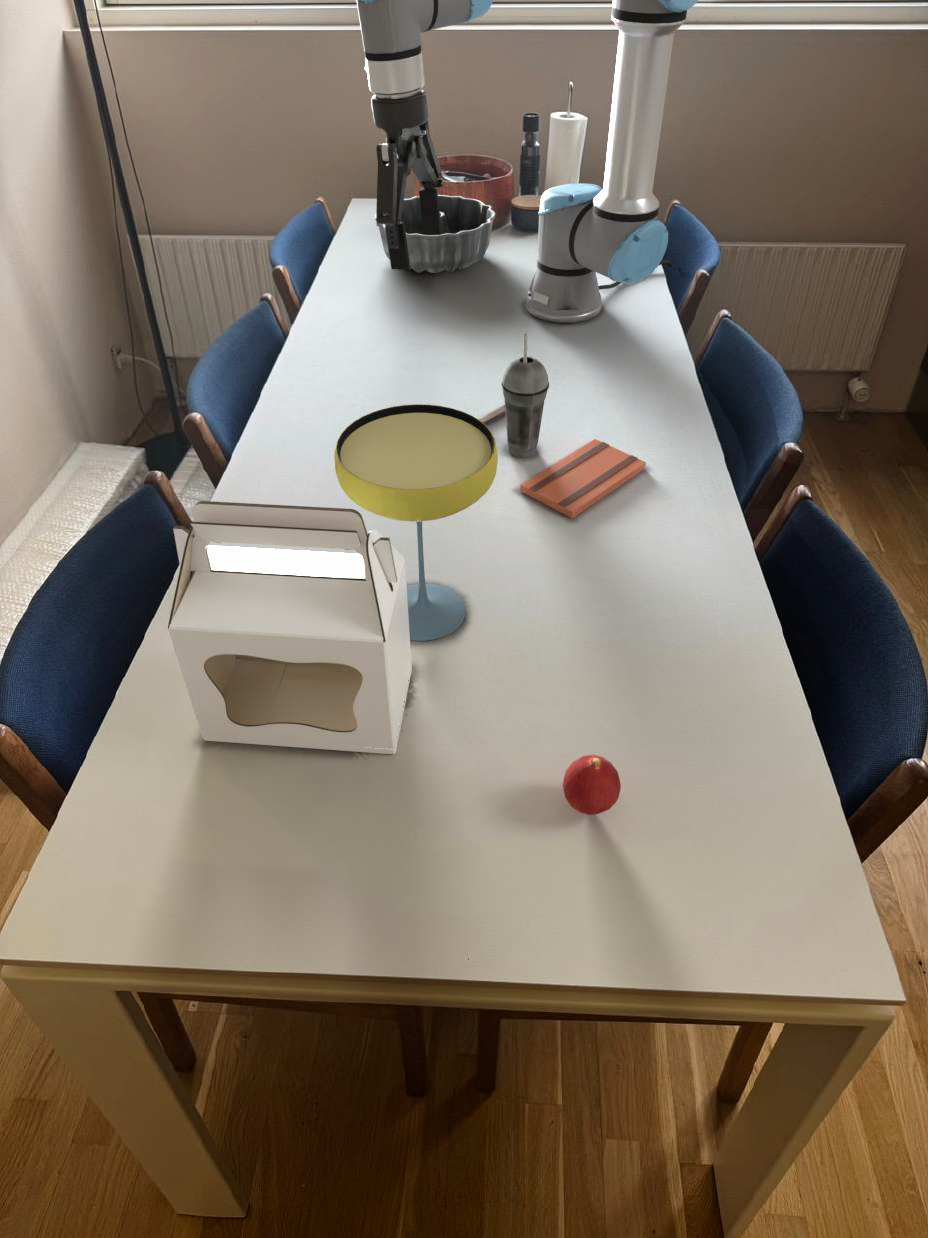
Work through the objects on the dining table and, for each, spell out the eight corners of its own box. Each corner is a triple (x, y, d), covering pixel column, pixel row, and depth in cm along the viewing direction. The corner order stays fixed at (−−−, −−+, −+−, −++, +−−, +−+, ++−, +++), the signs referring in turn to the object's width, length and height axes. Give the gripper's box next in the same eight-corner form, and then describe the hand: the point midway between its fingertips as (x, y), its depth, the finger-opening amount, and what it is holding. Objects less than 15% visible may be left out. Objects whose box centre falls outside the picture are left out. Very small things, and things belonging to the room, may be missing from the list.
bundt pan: (353, 258, 203) (349, 212, 196) (440, 229, 216) (439, 185, 209) (430, 293, 189) (429, 245, 182) (518, 260, 202) (520, 214, 195)
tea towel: (594, 445, 145) (595, 438, 144) (645, 468, 140) (646, 461, 139) (520, 491, 136) (520, 484, 135) (572, 518, 130) (572, 511, 130)
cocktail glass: (402, 552, 125) (392, 388, 108) (518, 595, 118) (526, 427, 101) (324, 630, 113) (299, 461, 96) (448, 682, 107) (444, 510, 90)
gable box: (200, 741, 100) (137, 542, 81) (233, 657, 110) (184, 462, 91) (397, 756, 99) (380, 556, 80) (414, 669, 108) (402, 473, 89)
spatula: (507, 398, 156) (507, 394, 156) (531, 409, 153) (531, 405, 153) (420, 445, 145) (420, 441, 145) (444, 458, 142) (444, 453, 142)
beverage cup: (550, 441, 146) (558, 323, 132) (538, 465, 141) (545, 345, 127) (507, 434, 148) (511, 317, 134) (493, 457, 143) (496, 337, 129)
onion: (556, 786, 96) (561, 737, 90) (609, 782, 96) (618, 733, 90) (565, 832, 91) (571, 784, 86) (621, 828, 92) (630, 780, 86)
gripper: (405, 69, 131) (423, 220, 145) (334, 117, 114) (361, 283, 128) (454, 67, 128) (467, 221, 143) (388, 117, 111) (410, 285, 126)
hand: (417, 250), depth 135 cm, fingers open, 13 cm apart
